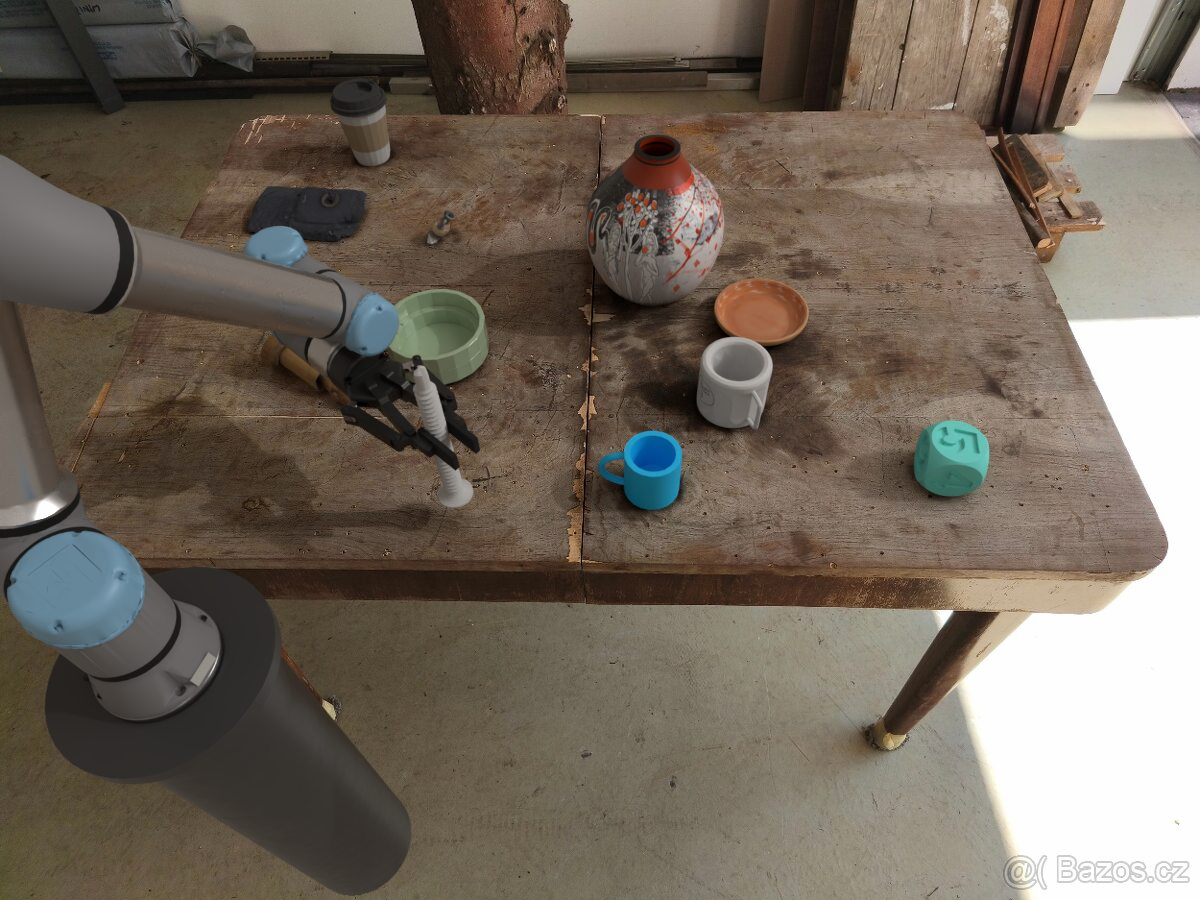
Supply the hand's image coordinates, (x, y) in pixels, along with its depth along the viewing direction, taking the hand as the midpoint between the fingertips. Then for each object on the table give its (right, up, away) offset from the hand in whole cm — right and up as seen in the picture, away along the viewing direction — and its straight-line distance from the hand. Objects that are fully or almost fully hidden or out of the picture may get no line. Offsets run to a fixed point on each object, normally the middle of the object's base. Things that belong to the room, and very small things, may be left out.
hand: (466, 453), depth 99 cm
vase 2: (+26, +30, +47) cm, 62 cm away
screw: (-4, -6, +14) cm, 15 cm away
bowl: (-11, +17, +38) cm, 43 cm away
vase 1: (-13, +41, +57) cm, 72 cm away
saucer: (+44, +23, +41) cm, 65 cm away
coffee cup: (-32, +64, +75) cm, 103 cm away
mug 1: (+22, -5, +20) cm, 30 cm away
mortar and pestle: (-37, +18, +35) cm, 54 cm away
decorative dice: (+67, -3, +20) cm, 70 cm away
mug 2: (+38, +7, +29) cm, 48 cm away
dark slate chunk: (-42, +47, +62) cm, 89 cm away
